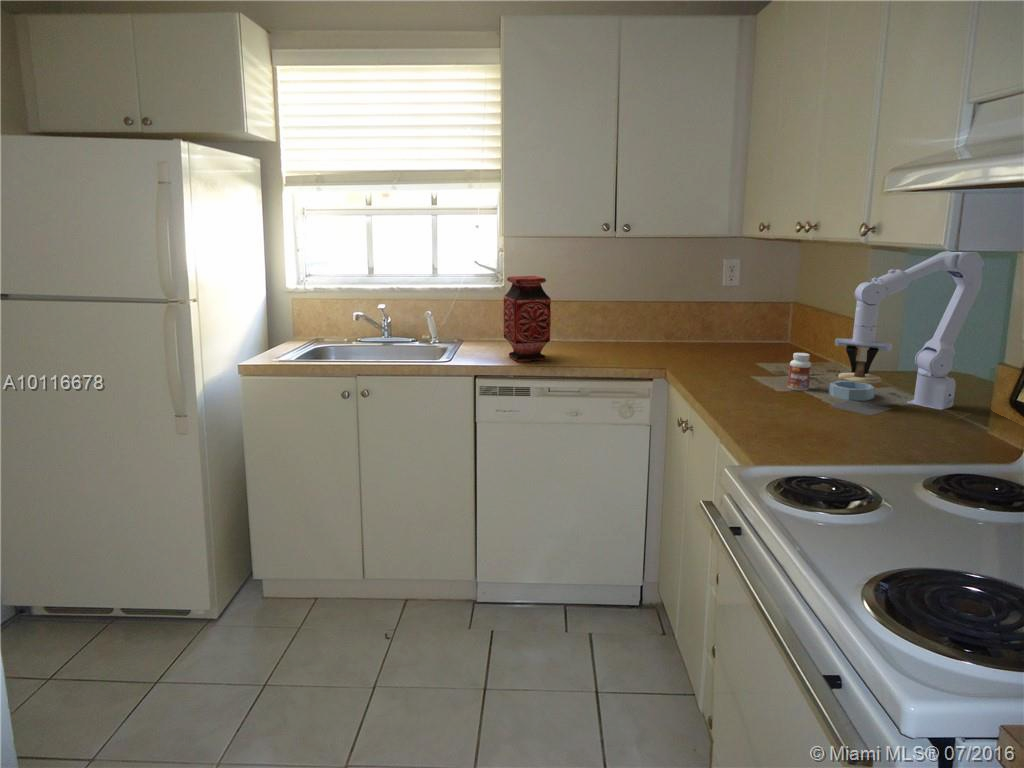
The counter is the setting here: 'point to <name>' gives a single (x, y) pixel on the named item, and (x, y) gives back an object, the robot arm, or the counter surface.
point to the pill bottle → (799, 372)
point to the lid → (859, 375)
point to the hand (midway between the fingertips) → (859, 372)
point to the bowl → (851, 390)
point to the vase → (527, 318)
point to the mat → (860, 407)
